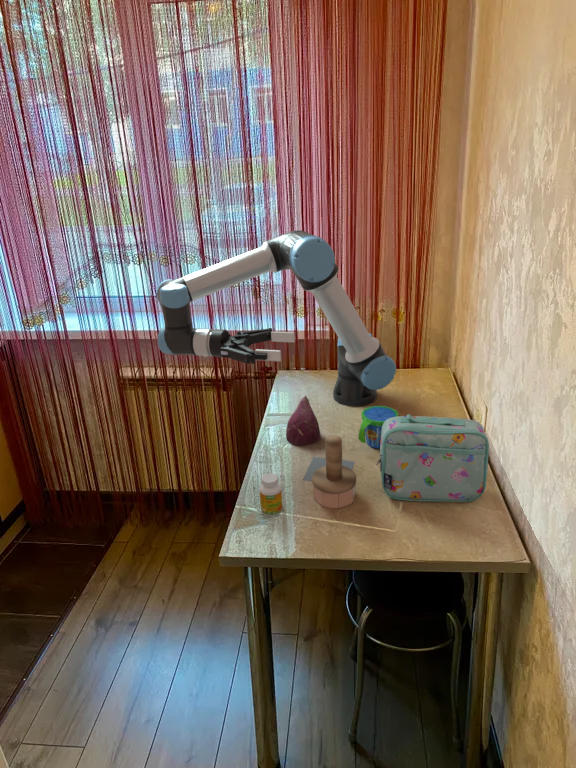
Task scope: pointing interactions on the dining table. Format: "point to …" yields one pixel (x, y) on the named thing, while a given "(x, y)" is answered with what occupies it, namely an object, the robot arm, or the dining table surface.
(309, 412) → the vegetable
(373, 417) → the snack cup
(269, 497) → the supplement bottle
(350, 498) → the bowl
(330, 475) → the paper towel holder
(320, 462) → the mat
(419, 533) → the dining table surface
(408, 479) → the lunch box
